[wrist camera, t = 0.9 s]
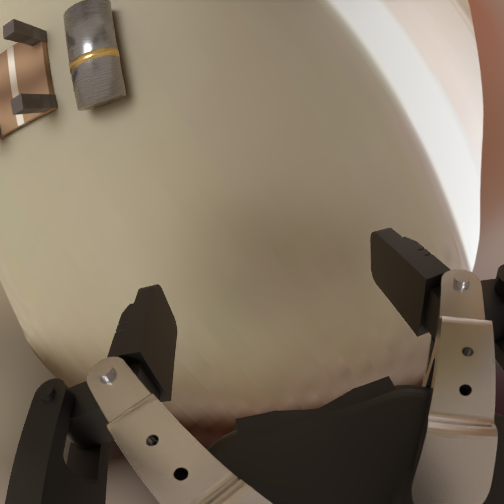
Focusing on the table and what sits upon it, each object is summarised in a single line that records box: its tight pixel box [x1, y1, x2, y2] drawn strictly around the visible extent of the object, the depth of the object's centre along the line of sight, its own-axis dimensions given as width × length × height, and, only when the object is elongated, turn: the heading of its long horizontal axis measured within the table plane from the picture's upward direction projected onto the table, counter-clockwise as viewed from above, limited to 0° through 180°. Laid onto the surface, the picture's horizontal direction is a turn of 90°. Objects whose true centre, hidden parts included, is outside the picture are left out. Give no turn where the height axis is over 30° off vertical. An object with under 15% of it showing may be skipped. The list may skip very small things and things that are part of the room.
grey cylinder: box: [64, 0, 126, 111], centre depth 22 cm, size 11×5×5 cm, turn 11°
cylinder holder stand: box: [0, 19, 58, 139], centre depth 20 cm, size 10×9×7 cm
